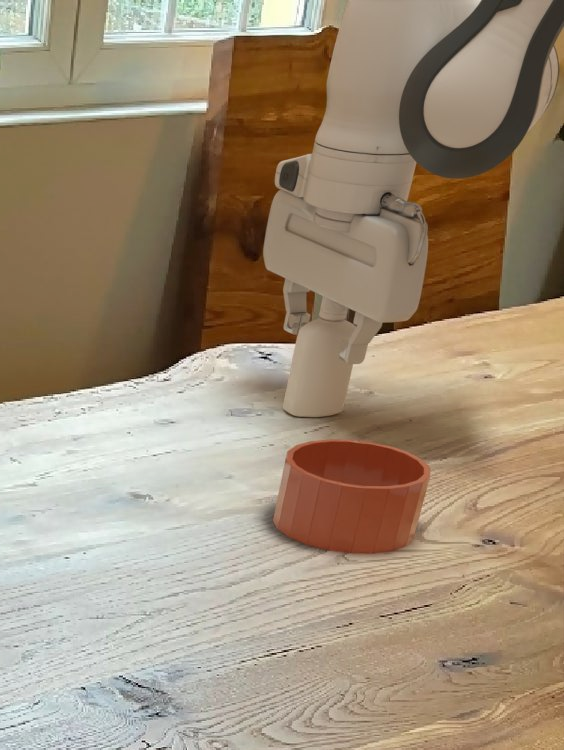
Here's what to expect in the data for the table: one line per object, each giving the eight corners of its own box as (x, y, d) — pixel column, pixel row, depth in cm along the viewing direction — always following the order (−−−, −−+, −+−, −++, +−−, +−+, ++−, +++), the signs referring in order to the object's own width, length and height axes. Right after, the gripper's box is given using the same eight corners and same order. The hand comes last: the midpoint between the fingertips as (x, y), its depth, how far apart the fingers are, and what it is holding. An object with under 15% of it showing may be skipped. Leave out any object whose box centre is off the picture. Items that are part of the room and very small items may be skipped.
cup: (357, 513, 121) (376, 433, 117) (436, 563, 113) (460, 480, 109) (244, 527, 118) (260, 446, 114) (317, 579, 110) (336, 494, 106)
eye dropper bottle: (282, 401, 143) (309, 269, 136) (342, 407, 142) (372, 274, 135) (281, 416, 140) (308, 281, 133) (342, 422, 139) (372, 286, 132)
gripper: (462, 207, 122) (417, 378, 131) (325, 159, 137) (293, 315, 146) (398, 210, 120) (356, 383, 129) (266, 161, 136) (237, 319, 144)
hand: (321, 347), depth 138 cm, fingers open, 8 cm apart
